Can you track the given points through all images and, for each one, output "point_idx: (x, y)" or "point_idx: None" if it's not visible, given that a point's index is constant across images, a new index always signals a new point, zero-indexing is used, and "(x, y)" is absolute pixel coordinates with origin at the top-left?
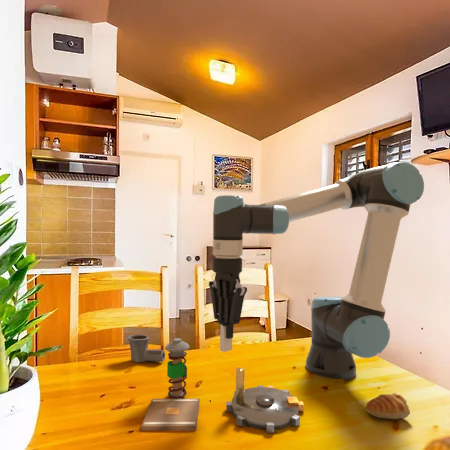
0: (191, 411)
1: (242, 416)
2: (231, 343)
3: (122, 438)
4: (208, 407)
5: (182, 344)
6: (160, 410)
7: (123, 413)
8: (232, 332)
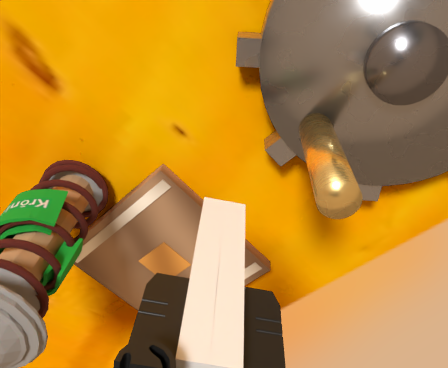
0: None
1: (369, 187)
2: (243, 236)
3: None
4: (209, 166)
5: (4, 343)
6: (137, 276)
7: (71, 308)
8: (278, 338)
